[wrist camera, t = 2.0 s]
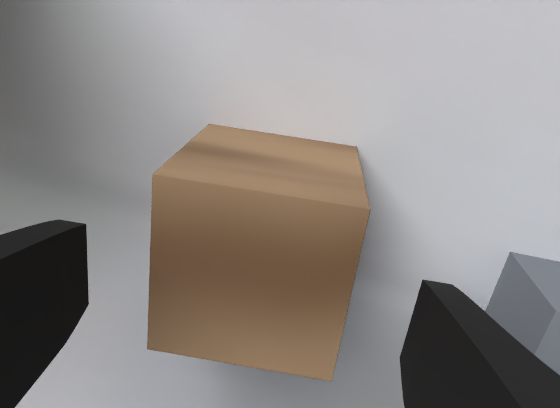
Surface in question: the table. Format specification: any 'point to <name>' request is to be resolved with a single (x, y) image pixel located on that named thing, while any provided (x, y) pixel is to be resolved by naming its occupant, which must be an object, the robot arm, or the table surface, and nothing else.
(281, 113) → the table surface
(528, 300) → the slate base block
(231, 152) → the walnut block
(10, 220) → the table surface
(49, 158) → the table surface
